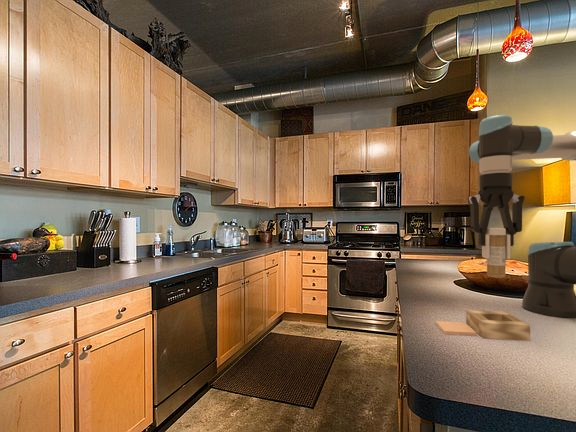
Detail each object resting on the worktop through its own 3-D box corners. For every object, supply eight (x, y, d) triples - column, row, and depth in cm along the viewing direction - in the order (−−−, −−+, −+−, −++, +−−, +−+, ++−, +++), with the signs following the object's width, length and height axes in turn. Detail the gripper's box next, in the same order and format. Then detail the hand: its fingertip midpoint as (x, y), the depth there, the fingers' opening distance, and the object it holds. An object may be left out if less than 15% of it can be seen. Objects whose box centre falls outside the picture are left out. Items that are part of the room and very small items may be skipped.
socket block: (507, 325, 89) (507, 312, 89) (530, 340, 79) (530, 325, 79) (466, 323, 91) (466, 310, 91) (483, 338, 80) (483, 322, 80)
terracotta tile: (464, 325, 90) (464, 322, 90) (476, 335, 82) (476, 332, 82) (435, 323, 91) (435, 321, 91) (444, 333, 83) (444, 331, 83)
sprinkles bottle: (493, 274, 88) (493, 227, 88) (510, 277, 84) (509, 228, 84) (482, 275, 86) (481, 227, 86) (498, 278, 82) (497, 228, 82)
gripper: (522, 174, 87) (523, 256, 87) (456, 176, 90) (456, 255, 90) (539, 170, 80) (540, 260, 80) (466, 172, 83) (467, 259, 83)
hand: (495, 257), depth 85 cm, fingers closed on sprinkles bottle, 4 cm apart
